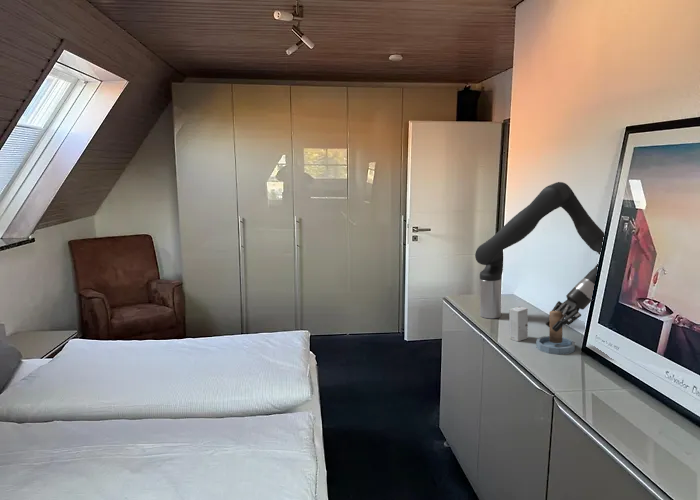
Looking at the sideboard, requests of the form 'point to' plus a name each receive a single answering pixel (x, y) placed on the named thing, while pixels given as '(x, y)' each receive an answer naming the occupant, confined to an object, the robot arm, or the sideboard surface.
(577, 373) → the sideboard surface
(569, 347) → the slate dish
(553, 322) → the walnut canister
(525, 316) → the skincare box
